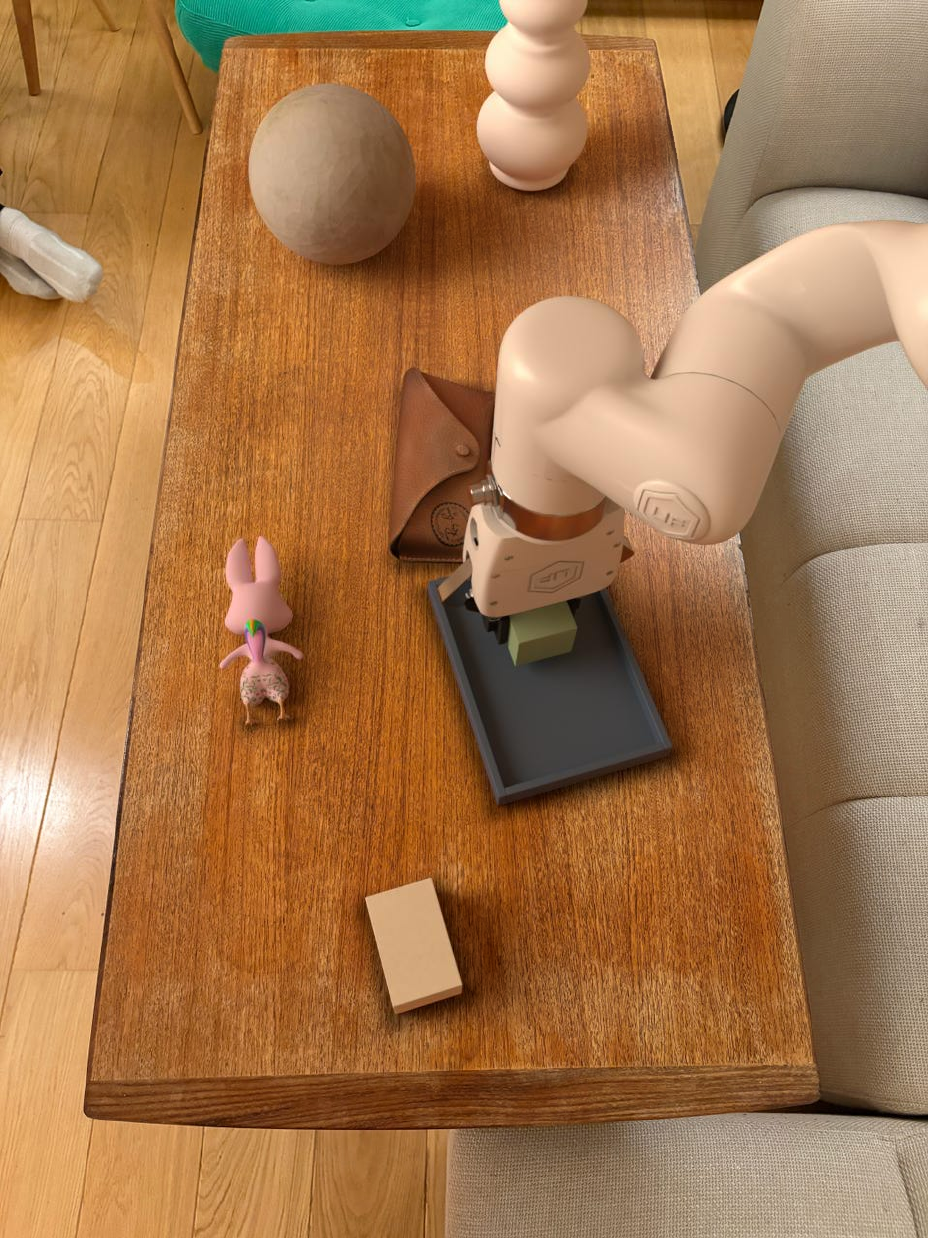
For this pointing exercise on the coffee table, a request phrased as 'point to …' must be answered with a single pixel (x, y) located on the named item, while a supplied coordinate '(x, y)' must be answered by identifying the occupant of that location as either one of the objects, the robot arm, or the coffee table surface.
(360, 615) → the coffee table surface
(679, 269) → the coffee table surface
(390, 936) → the cream pad
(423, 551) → the sunglasses case
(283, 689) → the rabbit figure
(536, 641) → the sage pad
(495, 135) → the vase
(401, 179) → the decorative sphere
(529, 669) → the tray
